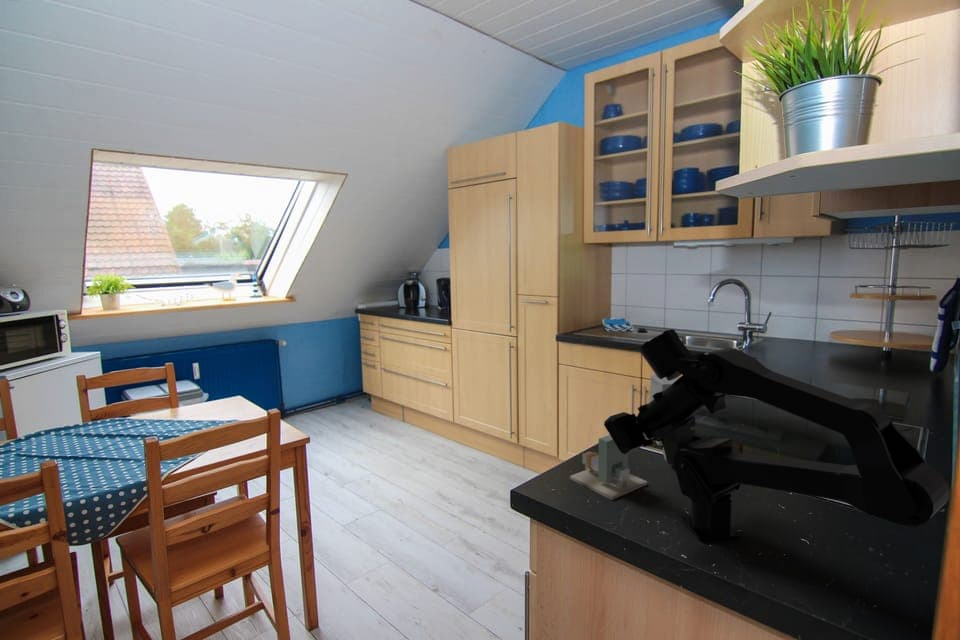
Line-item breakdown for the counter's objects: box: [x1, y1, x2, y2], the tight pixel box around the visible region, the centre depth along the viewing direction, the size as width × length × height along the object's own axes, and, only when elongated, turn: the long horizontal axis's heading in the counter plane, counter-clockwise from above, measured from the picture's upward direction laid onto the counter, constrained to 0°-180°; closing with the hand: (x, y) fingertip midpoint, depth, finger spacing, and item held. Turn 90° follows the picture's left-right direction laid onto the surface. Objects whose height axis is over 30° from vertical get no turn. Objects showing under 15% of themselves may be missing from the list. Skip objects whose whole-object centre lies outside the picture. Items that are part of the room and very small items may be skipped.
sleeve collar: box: [598, 434, 629, 484], centre depth 95 cm, size 3×6×8 cm, turn 124°
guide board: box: [569, 469, 648, 501], centre depth 96 cm, size 10×10×1 cm
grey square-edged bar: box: [581, 451, 630, 487], centre depth 96 cm, size 10×2×4 cm, turn 34°
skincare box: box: [648, 373, 680, 447], centre depth 115 cm, size 8×6×15 cm
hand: (623, 445), depth 92 cm, fingers closed
